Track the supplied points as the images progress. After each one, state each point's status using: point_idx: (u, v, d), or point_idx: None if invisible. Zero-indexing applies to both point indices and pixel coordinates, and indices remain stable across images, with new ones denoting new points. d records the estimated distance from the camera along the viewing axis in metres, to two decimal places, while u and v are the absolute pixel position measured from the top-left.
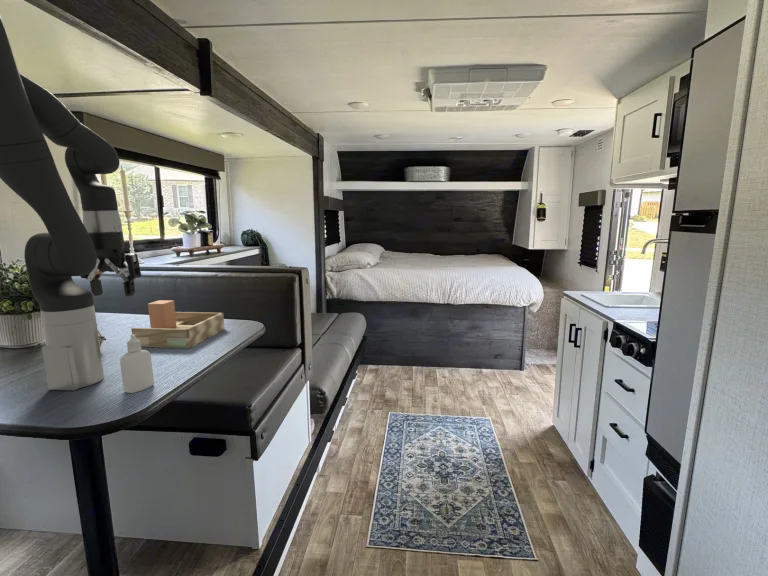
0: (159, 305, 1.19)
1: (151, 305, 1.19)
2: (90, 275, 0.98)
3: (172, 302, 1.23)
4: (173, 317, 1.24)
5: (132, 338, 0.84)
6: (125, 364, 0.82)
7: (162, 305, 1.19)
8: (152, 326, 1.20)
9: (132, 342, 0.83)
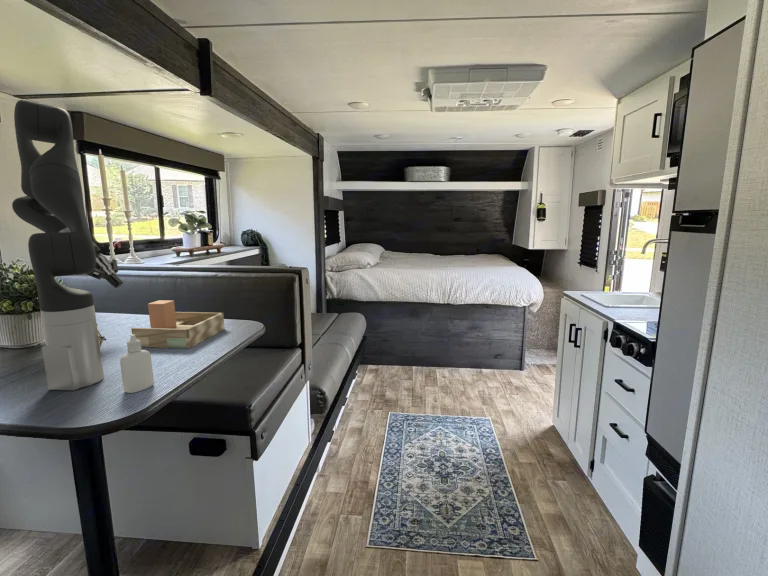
0: (159, 305, 1.19)
1: (151, 305, 1.19)
2: (107, 271, 1.21)
3: (172, 302, 1.23)
4: (173, 317, 1.24)
5: (132, 338, 0.84)
6: (125, 364, 0.82)
7: (162, 305, 1.19)
8: (152, 326, 1.20)
9: (132, 342, 0.83)
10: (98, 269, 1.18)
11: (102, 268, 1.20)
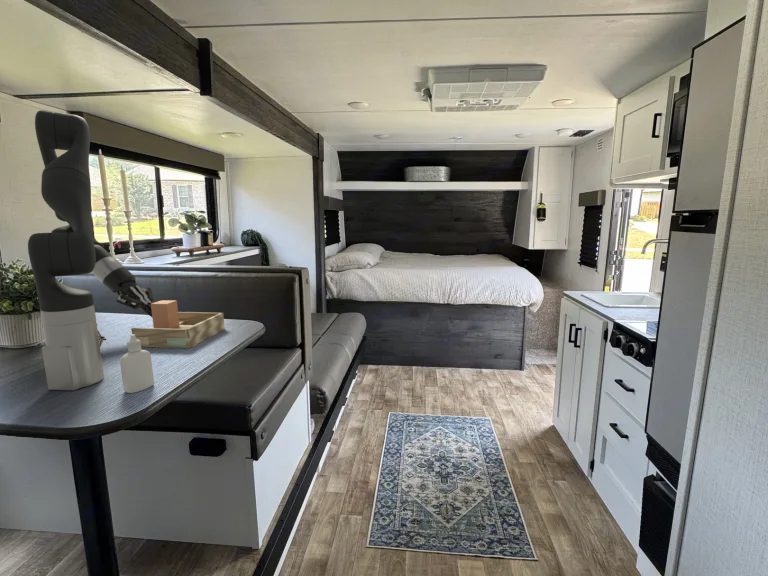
0: (162, 305, 1.19)
1: (154, 305, 1.19)
2: (144, 300, 1.21)
3: (175, 302, 1.23)
4: (176, 317, 1.23)
5: (132, 338, 0.84)
6: (125, 364, 0.82)
7: (165, 305, 1.19)
8: (155, 326, 1.20)
9: (132, 342, 0.83)
10: (135, 299, 1.19)
11: (139, 298, 1.20)
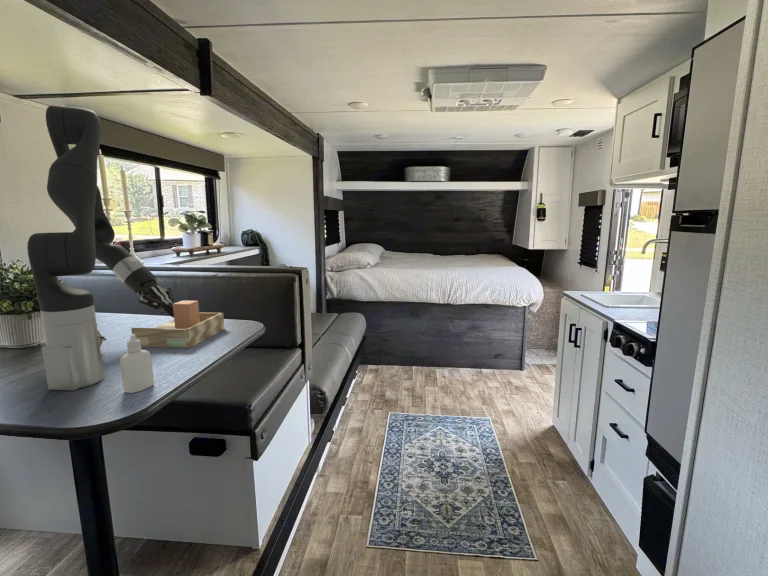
0: (184, 305, 1.18)
1: (176, 305, 1.19)
2: (165, 300, 1.21)
3: (196, 302, 1.22)
4: (197, 317, 1.23)
5: (132, 338, 0.84)
6: (125, 364, 0.82)
7: (187, 305, 1.18)
8: (177, 326, 1.20)
9: (132, 342, 0.83)
10: (157, 299, 1.18)
11: (160, 298, 1.20)
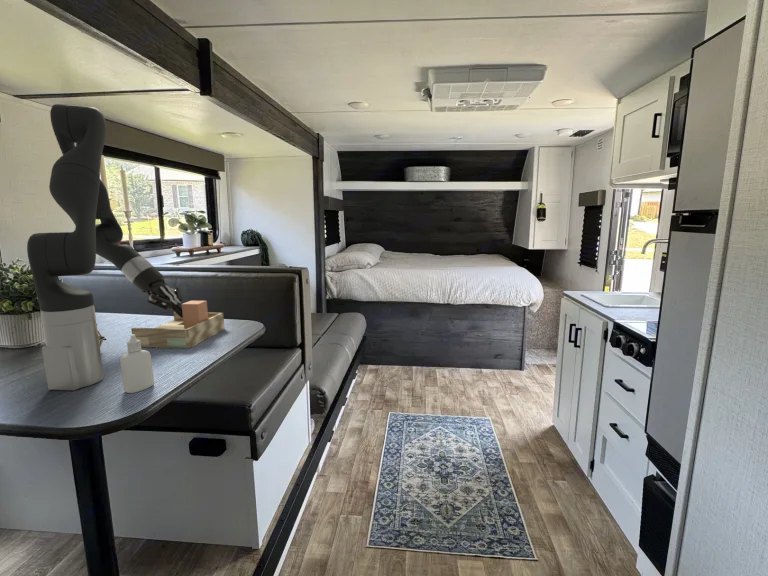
0: (193, 305, 1.18)
1: (185, 305, 1.19)
2: (174, 300, 1.20)
3: (205, 302, 1.22)
4: (206, 317, 1.23)
5: (132, 338, 0.84)
6: (125, 364, 0.82)
7: (196, 305, 1.18)
8: (185, 326, 1.20)
9: (132, 342, 0.83)
10: (166, 299, 1.18)
11: (169, 298, 1.19)
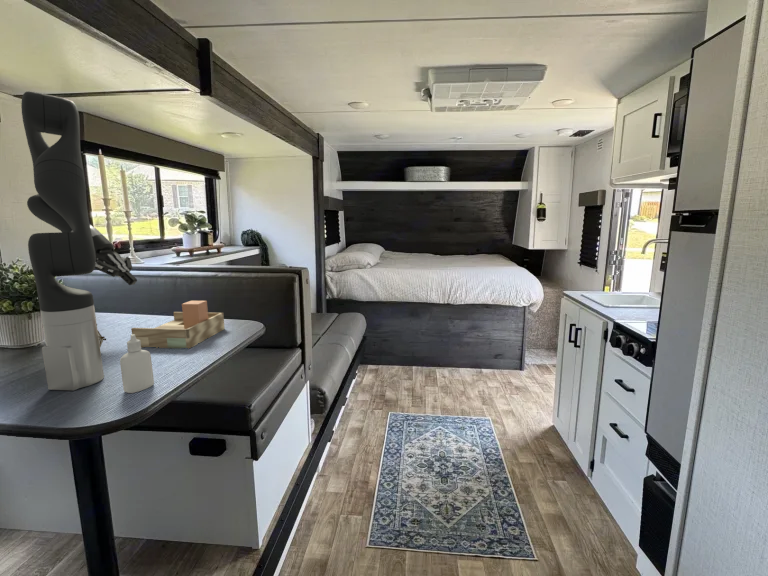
0: (193, 305, 1.18)
1: (185, 305, 1.19)
2: (122, 268, 1.20)
3: (205, 302, 1.22)
4: (206, 317, 1.23)
5: (132, 338, 0.84)
6: (125, 364, 0.82)
7: (196, 305, 1.18)
8: (186, 326, 1.20)
9: (132, 342, 0.83)
10: (113, 266, 1.18)
11: (116, 265, 1.19)
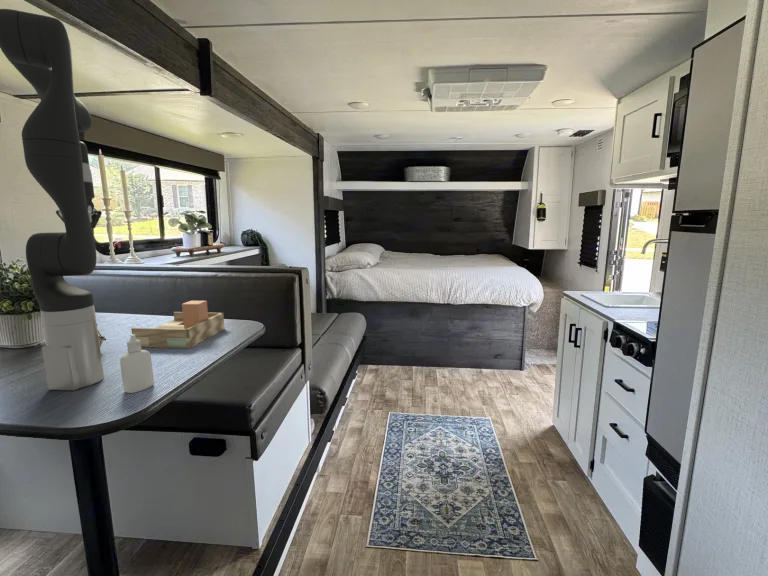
0: (193, 305, 1.18)
1: (185, 305, 1.19)
2: None
3: (205, 302, 1.22)
4: (206, 317, 1.23)
5: (132, 338, 0.84)
6: (125, 364, 0.82)
7: (196, 305, 1.18)
8: (186, 326, 1.20)
9: (132, 342, 0.83)
10: None
11: None
